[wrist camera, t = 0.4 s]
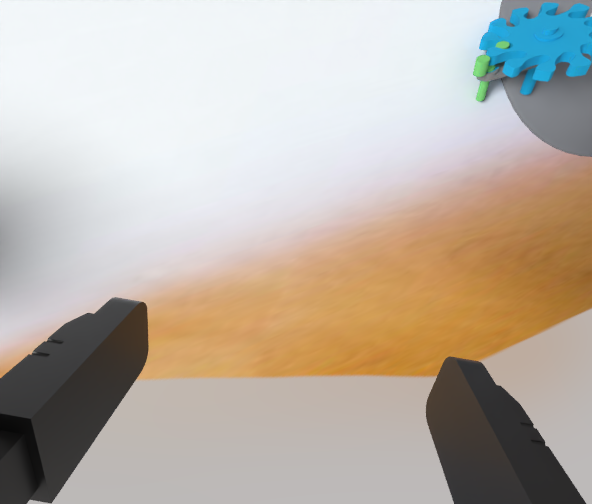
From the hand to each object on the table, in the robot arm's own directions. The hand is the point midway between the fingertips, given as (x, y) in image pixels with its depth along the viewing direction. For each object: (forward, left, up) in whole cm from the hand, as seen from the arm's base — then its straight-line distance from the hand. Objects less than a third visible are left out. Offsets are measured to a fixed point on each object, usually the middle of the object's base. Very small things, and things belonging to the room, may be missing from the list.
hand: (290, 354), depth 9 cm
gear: (-10, +26, -25) cm, 38 cm away
